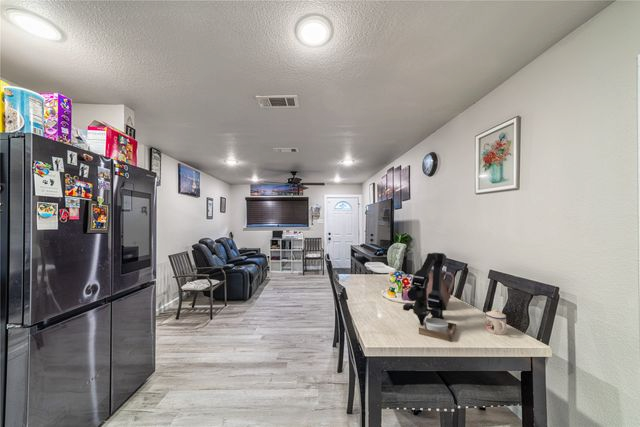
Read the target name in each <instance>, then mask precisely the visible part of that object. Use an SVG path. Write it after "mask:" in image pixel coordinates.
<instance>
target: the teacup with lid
mask: <svg viewBox="0 0 640 427" xmlns="http://www.w3.org/2000/svg"><path fill="white" fill-rule="evenodd" d="M485 315H486V316H485V317H486V318H485V319H486V321H485V322H486V330H487V332H488V333H489V334H490V333H491V334H493V335H499V336H504V335H507V315H506V314H504V313H503V312H501V311H499V310H498V309H497V308H494V309H493V310H491V311H486V312H485Z"/></svg>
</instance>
